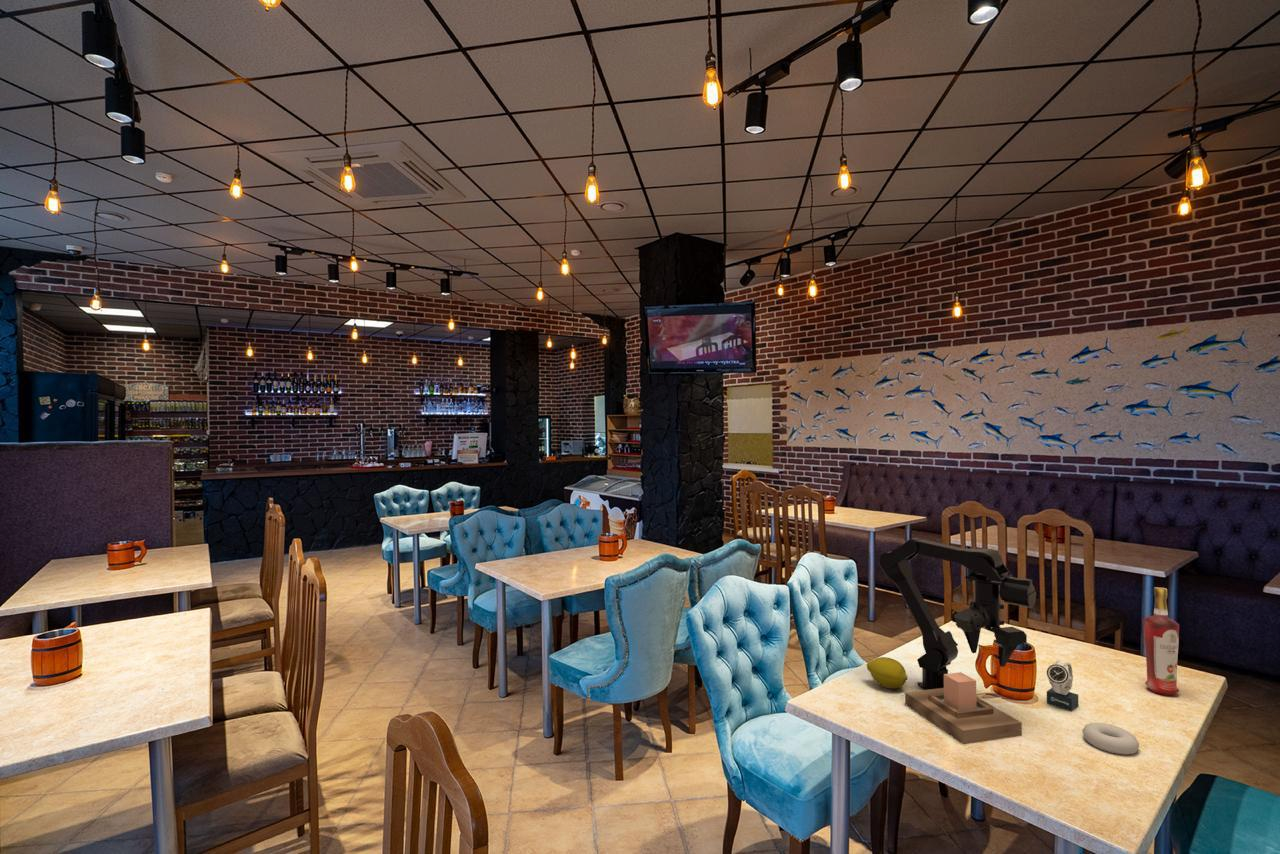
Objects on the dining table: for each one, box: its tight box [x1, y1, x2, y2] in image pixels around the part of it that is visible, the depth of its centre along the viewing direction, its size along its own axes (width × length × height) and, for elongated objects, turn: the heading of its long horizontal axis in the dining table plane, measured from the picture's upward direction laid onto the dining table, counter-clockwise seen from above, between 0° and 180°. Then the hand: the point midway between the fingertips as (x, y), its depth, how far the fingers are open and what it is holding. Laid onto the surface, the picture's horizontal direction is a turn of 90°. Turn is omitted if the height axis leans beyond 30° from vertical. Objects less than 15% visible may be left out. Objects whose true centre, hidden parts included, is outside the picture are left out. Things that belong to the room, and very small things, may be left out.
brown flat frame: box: [904, 688, 1023, 744], centre depth 144 cm, size 20×16×4 cm
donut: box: [1082, 722, 1140, 756], centre depth 132 cm, size 10×4×10 cm
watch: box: [1046, 660, 1079, 712], centre depth 151 cm, size 6×8×11 cm
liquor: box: [1142, 586, 1180, 696], centre depth 158 cm, size 7×7×28 cm
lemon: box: [866, 656, 908, 690], centre depth 162 cm, size 11×8×8 cm
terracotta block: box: [944, 671, 977, 711], centre depth 144 cm, size 5×5×7 cm
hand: (987, 659), depth 151 cm, fingers open, 9 cm apart
